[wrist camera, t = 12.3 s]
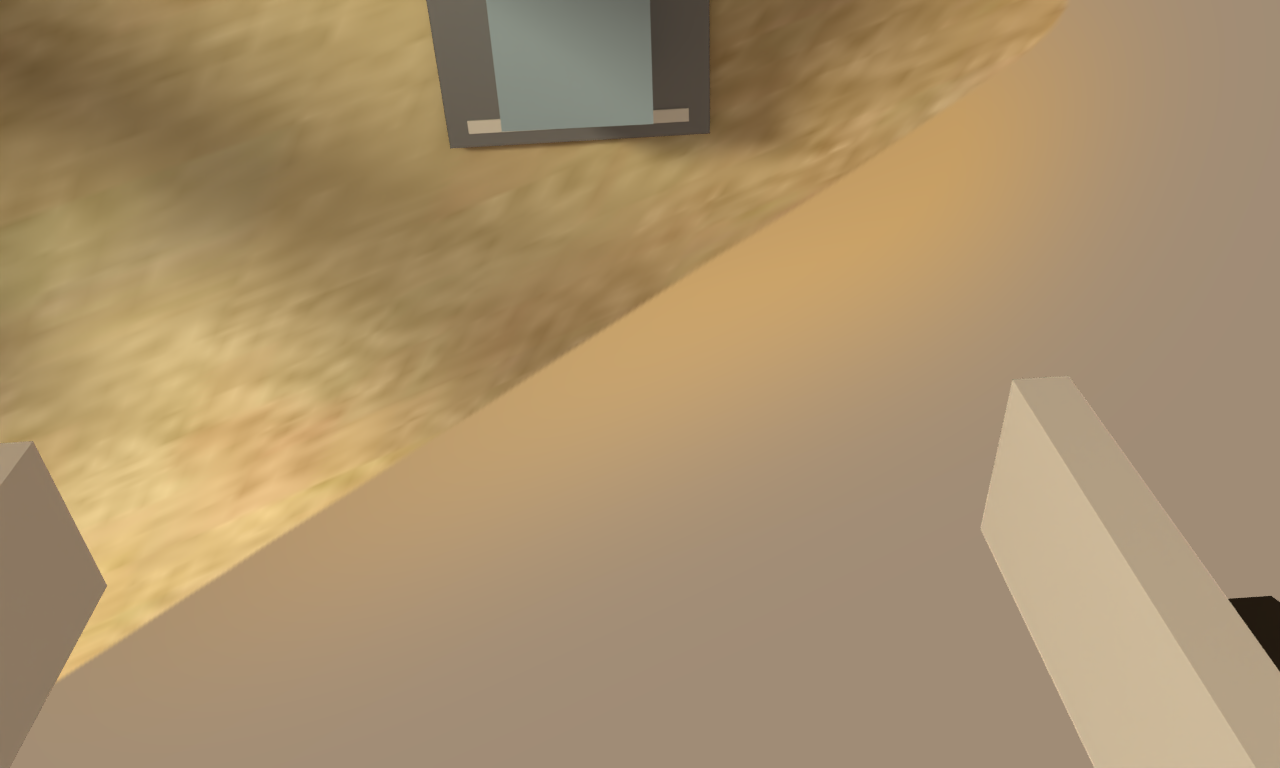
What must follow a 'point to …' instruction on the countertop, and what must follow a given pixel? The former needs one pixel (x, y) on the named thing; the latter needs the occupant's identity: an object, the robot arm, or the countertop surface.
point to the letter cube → (571, 63)
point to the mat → (478, 124)
